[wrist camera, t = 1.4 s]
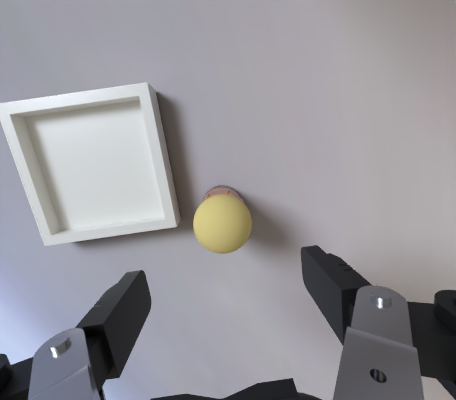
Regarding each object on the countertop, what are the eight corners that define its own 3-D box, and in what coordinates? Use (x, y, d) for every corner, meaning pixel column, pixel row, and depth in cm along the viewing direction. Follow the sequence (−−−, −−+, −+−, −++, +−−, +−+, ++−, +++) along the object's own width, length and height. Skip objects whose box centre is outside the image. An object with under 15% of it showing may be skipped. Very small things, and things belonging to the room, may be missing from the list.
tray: (19, 109, 22) (-6, 104, 19) (155, 90, 22) (147, 82, 19) (62, 236, 25) (44, 245, 22) (180, 219, 25) (176, 226, 22)
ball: (192, 193, 20) (183, 206, 15) (244, 186, 20) (252, 197, 15) (201, 242, 21) (195, 269, 16) (250, 235, 21) (259, 260, 16)
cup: (199, 188, 24) (194, 196, 20) (239, 182, 24) (243, 189, 20) (205, 226, 25) (202, 242, 21) (244, 221, 25) (249, 236, 21)
